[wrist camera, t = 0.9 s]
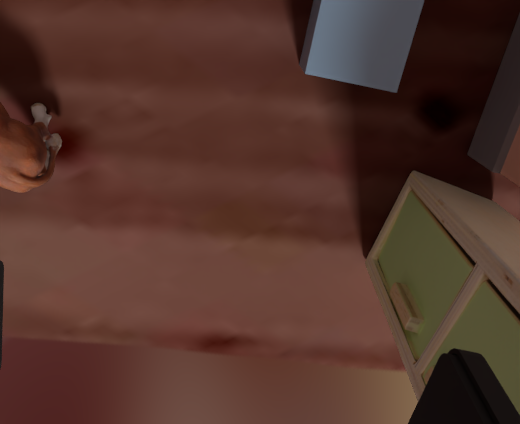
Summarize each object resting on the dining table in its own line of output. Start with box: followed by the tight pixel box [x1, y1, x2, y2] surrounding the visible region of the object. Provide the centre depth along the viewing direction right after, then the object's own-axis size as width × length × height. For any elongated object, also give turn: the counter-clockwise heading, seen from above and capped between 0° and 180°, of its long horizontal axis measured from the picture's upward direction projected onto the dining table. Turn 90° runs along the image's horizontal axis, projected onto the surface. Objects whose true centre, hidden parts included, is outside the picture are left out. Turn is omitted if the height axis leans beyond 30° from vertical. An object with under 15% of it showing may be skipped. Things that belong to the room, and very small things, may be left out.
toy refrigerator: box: [365, 171, 520, 415], centre depth 25 cm, size 8×7×21 cm
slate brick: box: [299, 0, 424, 93], centre depth 27 cm, size 8×5×6 cm, turn 169°
